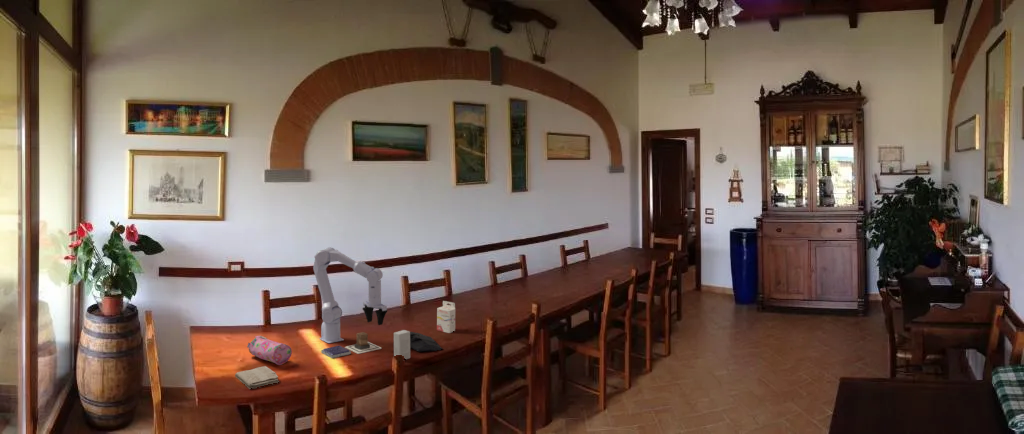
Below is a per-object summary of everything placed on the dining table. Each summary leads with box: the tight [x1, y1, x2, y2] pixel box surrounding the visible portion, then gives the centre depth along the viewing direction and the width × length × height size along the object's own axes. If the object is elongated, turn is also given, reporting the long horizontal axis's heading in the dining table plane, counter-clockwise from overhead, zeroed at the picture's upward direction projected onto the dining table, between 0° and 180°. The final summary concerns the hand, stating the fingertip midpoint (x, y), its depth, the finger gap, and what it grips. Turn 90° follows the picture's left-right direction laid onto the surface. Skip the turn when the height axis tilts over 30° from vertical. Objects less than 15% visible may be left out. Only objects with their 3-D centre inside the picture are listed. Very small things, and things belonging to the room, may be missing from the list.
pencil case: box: [247, 335, 293, 366], centre depth 256 cm, size 21×9×9 cm, turn 52°
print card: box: [344, 341, 382, 355], centre depth 274 cm, size 12×12×1 cm
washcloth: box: [234, 365, 280, 390], centre depth 233 cm, size 12×18×3 cm, turn 42°
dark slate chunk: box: [409, 331, 444, 353], centre depth 279 cm, size 15×22×5 cm
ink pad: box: [321, 345, 352, 359], centre depth 266 cm, size 10×9×2 cm
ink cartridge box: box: [436, 300, 456, 334], centre depth 304 cm, size 9×5×15 cm, turn 58°
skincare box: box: [393, 329, 411, 360], centre depth 260 cm, size 6×4×12 cm
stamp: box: [353, 331, 370, 350], centre depth 273 cm, size 5×5×6 cm
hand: (374, 323), depth 281 cm, fingers open, 7 cm apart
